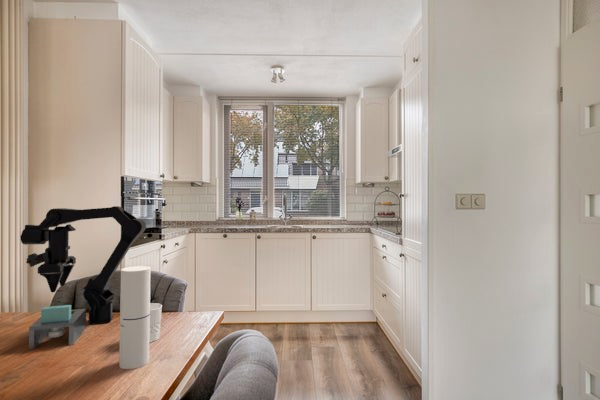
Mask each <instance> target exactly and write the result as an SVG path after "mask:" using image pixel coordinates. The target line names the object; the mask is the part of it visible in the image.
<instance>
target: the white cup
mask: <svg viewBox="0 0 600 400" xmlns="http://www.w3.org/2000/svg"><path fill="white" fill-rule="evenodd" d="M162 312H163V304H161V303H159V302H158V303H155V302H150V339H149V343H151V342H152V343H153V342H155V341H157V340H159V338H160V337H161V326H162V325H161V324H162Z"/></svg>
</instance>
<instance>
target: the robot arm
mask: <svg viewBox="0 0 600 400" xmlns="http://www.w3.org/2000/svg"><path fill="white" fill-rule="evenodd" d="M106 218H107V219H108V218H112V219H114V220H115V221H116V222H117V223H118V224H119V225H120V226H121V227H122V231H121V235H120V240H119V242H118V243H117V245H116V246H115V248H114V250H113V251H112V253H111V255H110V256H109V258H108V259H107V261H106V263H105V264H104V266H103V267H102V269H101V270H100V273H99V274H95V275H94V276H92V277H90V278H89V279H88V281H87V284H86V285H85V286H84V287H83V288H82V289H83V290H84V291H83V293H82V296H83V297H84V300H86V301H87V303H88V305H89V309H88V325H96V324H107V323H111V322H112V320H113V318H114V315H113V300H114V297H115V293H113V292H112V291H111V290H110V289H109V288H110V286H111V282H112V278H113V276H114V275H115V273H116V272H117V269H118V268H119V266H120V264H121V263H122V261H123V259H124V258H125V256H126V254H127V253H128V251H129V250H130V248H131V246H132V245H133V244H134V243H135V242H136V241H137V240H138V239H139V237H140V236H141V235H142V234H143V233H144V232H145V231H146V229H147V223H146V222H145V220H143V219H141V218H137V217H135V215H133V214H131V213H129V212H128V211H127V210H125V209H124V208H123V207H122V206H117V205H116V206H111V207H99V208H87V209H75V208H63V207H60V208H57V207H56V208H52V209H49V210H48V211H47V213H46V215H45V218H44V219H43V220H42V221H41V222H40V223H39V225H38V224H37V225H36V224H25V225H24V229H23V230H22V232H21V234H20V242H21V244H23V245H24V246H25V245H46V244H47V242H48V246H47V247H46V248H45V249H44V252H41V253H38V254H37V253H36V252H34V253H31V254H28V256H27V258H26V262H25V263H26V264H28V265H29V268H33V267H35V266H37V265H39V264H40V265H39V266H38V267H37V274H39V275H40V276H42V277H43V278H45V279H46V282H47V284H48V287H49V291H50V293H55V292H56V291H57V288H58V286H60V287H64V286H65V284H66V282H67V280H68V279H69V276H70V274H71V273H72V271H73V268H74V267H75V264H76V257H75V256H74V255H69V250H70V249H71V246H70V245H69V241H70V240H69V235H70V234H69V232H74V231H76V228H75V227H74V226H73V225H72V223H73V222H77V221H83V220H93V219H106ZM70 223H71V224H70ZM61 225H65V226H61ZM50 228H51V229H50Z"/></svg>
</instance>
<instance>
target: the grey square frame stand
mask: <svg viewBox="0 0 600 400" xmlns="http://www.w3.org/2000/svg"><path fill="white" fill-rule="evenodd" d="M59 327H61V328H68V346H72V345H74V344H75V343H76V342H77V341H78V339H79V338H80V336H81V335H82V334H83V333H84V331H85V330H86V328H87V308H79V309H71V318H70V319H69V320H67V321H59V322H45V323H41V316H40V317H39V318H38V319H37V320H35V321H34V322H33V323H32V324H31V325H30V326H28V350H34V349H35V348H36V347H37V346H39V345H40V344H41V342H42V341H43V340H44V339H45V338H47V337H48V331H49V330H51V329H52V328H59Z"/></svg>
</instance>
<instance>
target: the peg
mask: <svg viewBox="0 0 600 400" xmlns="http://www.w3.org/2000/svg"><path fill="white" fill-rule="evenodd" d="M71 310H72V304H65V305H64V304H63V305H51V306H44V307H41V310H40V311H41V312H40V313H41V314H40V317H41V323H45V322H59V321H67V320H69V319H70V318H71V315H72V314H71ZM64 335H65V327H59V328H51V330H49V331H48V335H47V338H50V339H52V338H59V337H62V336H64Z"/></svg>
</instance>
